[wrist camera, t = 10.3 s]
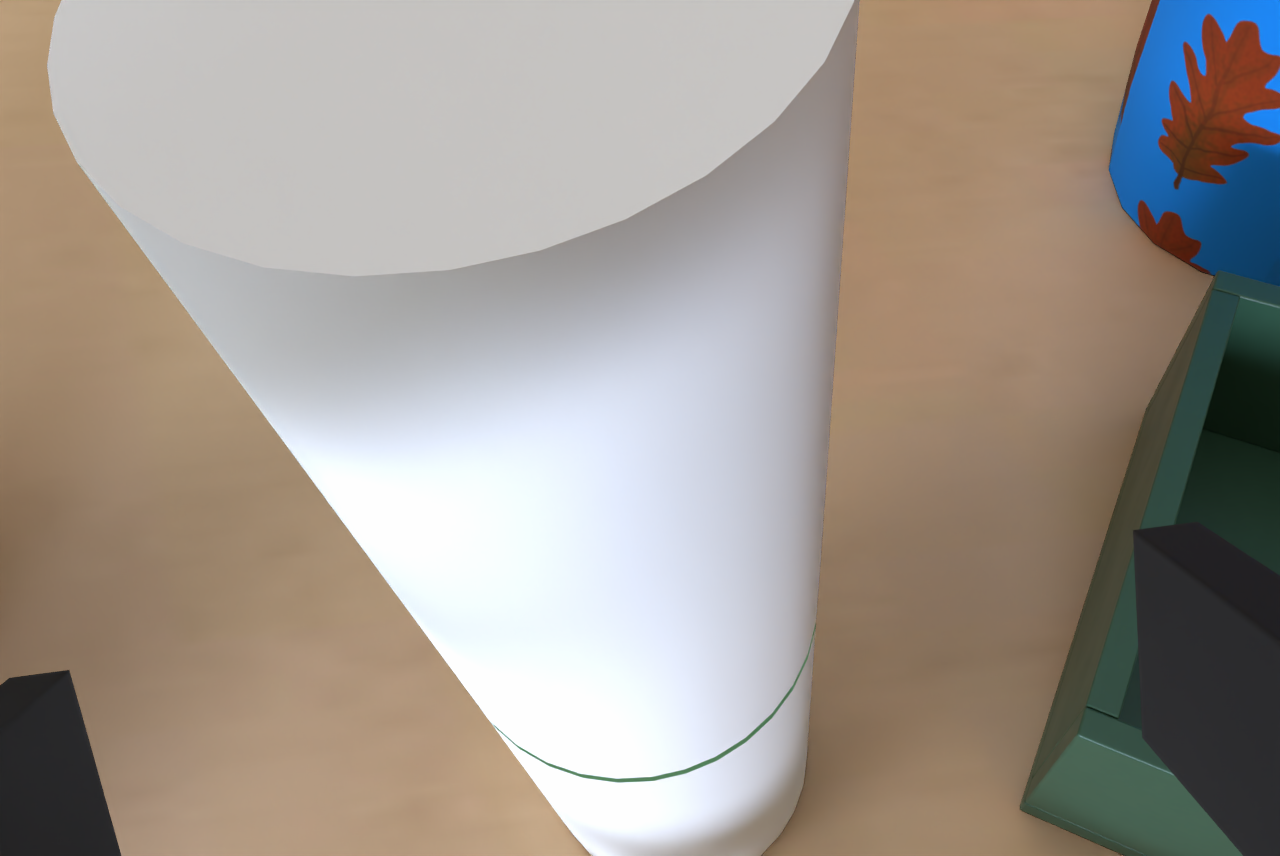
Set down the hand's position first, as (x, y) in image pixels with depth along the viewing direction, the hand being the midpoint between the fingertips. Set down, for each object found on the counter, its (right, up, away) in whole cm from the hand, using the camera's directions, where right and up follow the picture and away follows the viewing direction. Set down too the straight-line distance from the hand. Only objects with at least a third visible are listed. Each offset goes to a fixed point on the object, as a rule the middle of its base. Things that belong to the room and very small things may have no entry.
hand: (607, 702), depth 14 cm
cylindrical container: (+1, -6, +17) cm, 18 cm away
